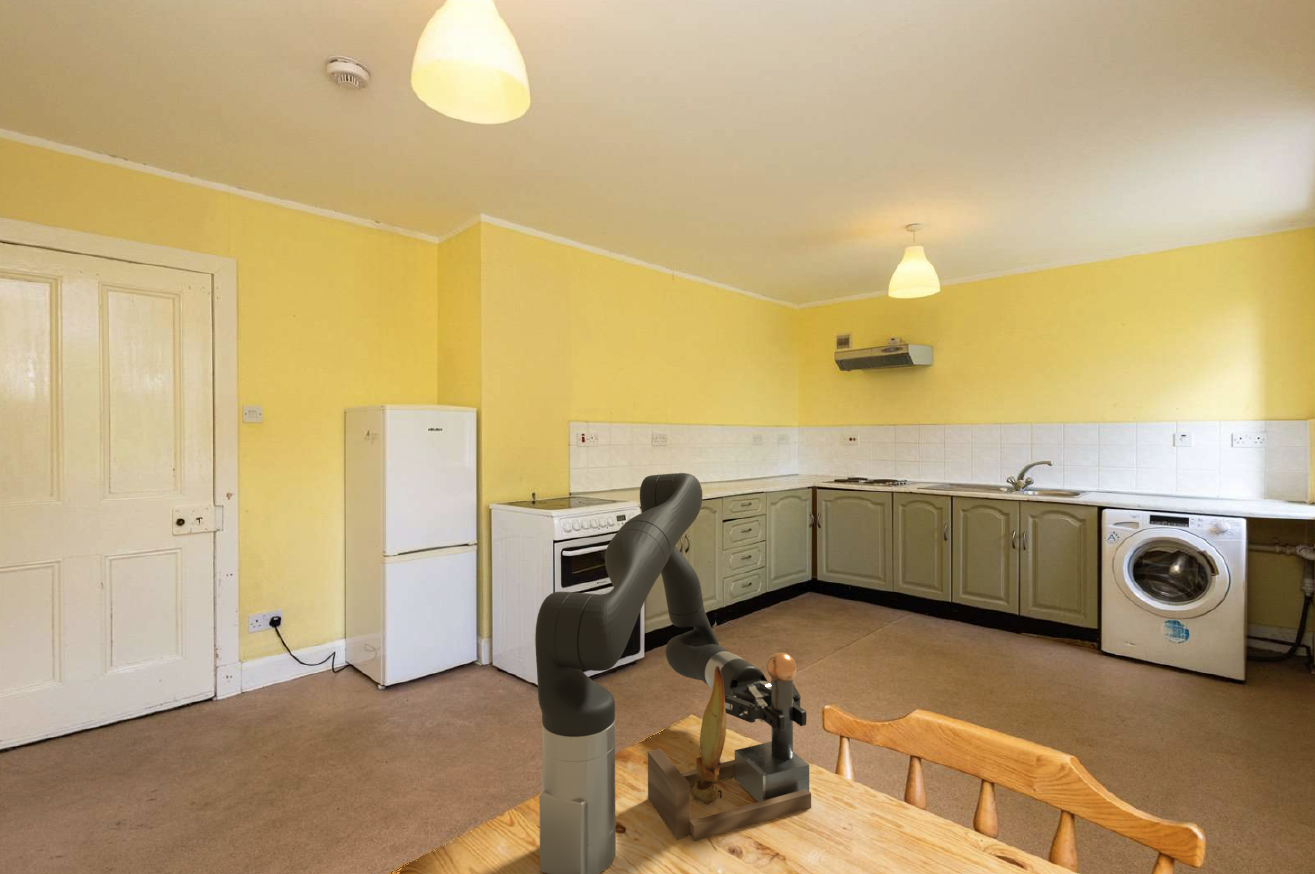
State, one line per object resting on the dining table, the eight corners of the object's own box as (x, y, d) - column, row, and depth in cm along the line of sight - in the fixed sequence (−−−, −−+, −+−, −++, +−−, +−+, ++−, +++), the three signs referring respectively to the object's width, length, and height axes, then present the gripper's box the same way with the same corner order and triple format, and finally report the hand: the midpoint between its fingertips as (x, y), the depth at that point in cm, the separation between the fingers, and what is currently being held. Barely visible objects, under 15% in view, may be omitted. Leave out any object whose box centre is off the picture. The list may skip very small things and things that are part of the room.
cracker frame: (680, 845, 81) (680, 791, 81) (644, 794, 92) (644, 747, 92) (811, 807, 89) (811, 758, 89) (763, 765, 100) (763, 722, 100)
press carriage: (763, 807, 88) (762, 668, 88) (734, 778, 95) (734, 650, 95) (810, 794, 91) (809, 660, 91) (779, 767, 99) (779, 643, 99)
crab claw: (728, 821, 86) (727, 677, 86) (691, 820, 86) (690, 676, 86) (725, 792, 93) (725, 658, 92) (691, 791, 93) (691, 658, 93)
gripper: (698, 664, 105) (752, 704, 89) (768, 652, 110) (832, 688, 94) (698, 708, 105) (752, 757, 89) (769, 694, 110) (832, 738, 94)
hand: (793, 721), depth 92 cm, fingers closed on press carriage, 3 cm apart
